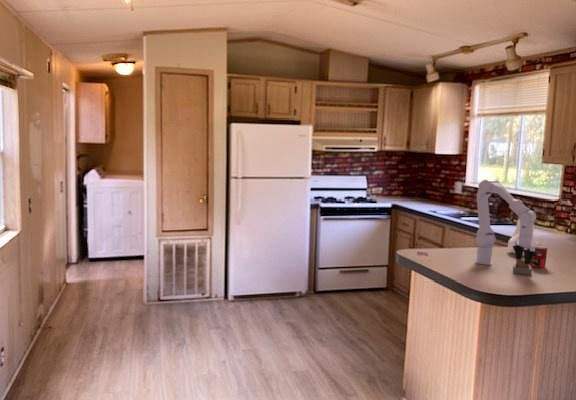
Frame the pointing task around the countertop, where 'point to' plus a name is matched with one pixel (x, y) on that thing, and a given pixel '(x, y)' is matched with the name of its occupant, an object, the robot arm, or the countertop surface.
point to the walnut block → (521, 263)
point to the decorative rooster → (516, 238)
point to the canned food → (539, 257)
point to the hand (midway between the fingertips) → (522, 262)
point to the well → (522, 270)
